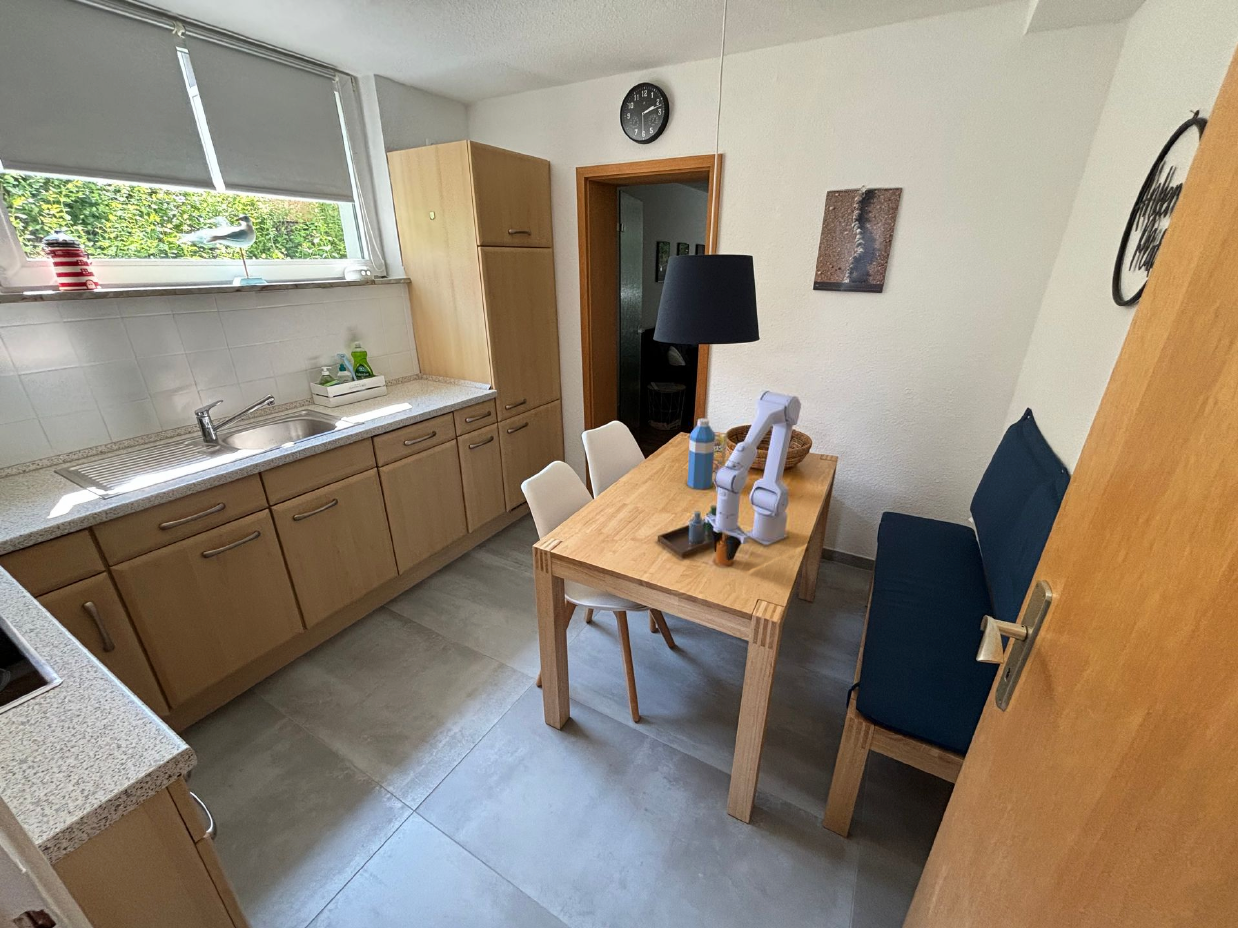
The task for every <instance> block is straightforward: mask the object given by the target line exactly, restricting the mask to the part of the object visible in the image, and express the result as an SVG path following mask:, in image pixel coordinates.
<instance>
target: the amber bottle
mask: <svg viewBox="0 0 1238 928" xmlns="http://www.w3.org/2000/svg"><path fill="white" fill-rule="evenodd" d="M728 537H729V535H728V534H725V533H722V538H721V539H720V540H719V541H717V547H716V552H715V562H716V564H718V565H720V566H730V565H732V563H733V559H732V560H727V547H726V542H725V538H728Z"/></svg>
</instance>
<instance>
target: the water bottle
mask: <svg viewBox="0 0 1238 928" xmlns="http://www.w3.org/2000/svg"><path fill="white" fill-rule="evenodd" d="M714 432H715V431H714V430H713V429H712V427H711V426H710V419H709V418H703V417H702V418H698V419H697V425H696V426H695V427H694V428H693V430H692V431H691V432H690V434H689V446H688V467H687V486H688V487H690V488H691V489H694V490H695V489H696V490H707V489H710V488H712V485H713V475H714V474H713V473H714V471H713V462H714V447H715V433H714Z"/></svg>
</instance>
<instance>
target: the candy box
mask: <svg viewBox="0 0 1238 928" xmlns="http://www.w3.org/2000/svg"><path fill="white" fill-rule="evenodd" d="M713 432H714V433H715V447H714V462H713V472H715V473H716V472H717V470H718V469H719V468H720V467H723V466H725V465H726V455H727V454H726V453H727V443H728V433H726V432H720V431H713Z"/></svg>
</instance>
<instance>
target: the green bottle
mask: <svg viewBox="0 0 1238 928" xmlns="http://www.w3.org/2000/svg"><path fill="white" fill-rule="evenodd" d="M716 512H717V505H715V504H712V505H710V510H709V511H708V512H707V513H706V514H705V516H706V515H709V514H712V515H714V516H716ZM709 527H711V523H706V522H705V534H706V535H708V536H710V535H709V533H708V531H707V529H708V528H709Z"/></svg>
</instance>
